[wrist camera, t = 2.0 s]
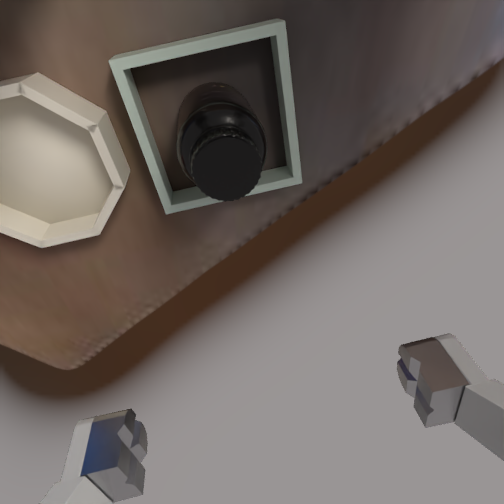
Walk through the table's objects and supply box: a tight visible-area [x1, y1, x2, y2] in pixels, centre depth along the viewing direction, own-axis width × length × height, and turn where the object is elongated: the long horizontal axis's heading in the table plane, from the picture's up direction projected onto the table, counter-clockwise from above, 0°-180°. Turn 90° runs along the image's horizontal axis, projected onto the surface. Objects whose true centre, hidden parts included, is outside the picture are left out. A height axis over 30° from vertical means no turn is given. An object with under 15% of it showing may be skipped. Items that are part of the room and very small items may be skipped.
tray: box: [109, 18, 302, 214], centre depth 33 cm, size 14×14×3 cm
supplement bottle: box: [176, 82, 267, 201], centre depth 29 cm, size 7×7×12 cm
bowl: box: [0, 72, 131, 248], centre depth 32 cm, size 14×14×4 cm
